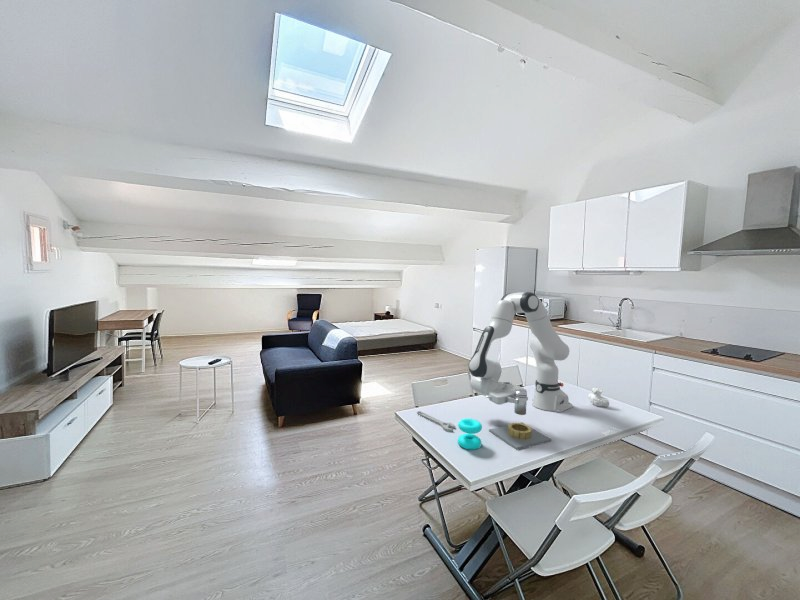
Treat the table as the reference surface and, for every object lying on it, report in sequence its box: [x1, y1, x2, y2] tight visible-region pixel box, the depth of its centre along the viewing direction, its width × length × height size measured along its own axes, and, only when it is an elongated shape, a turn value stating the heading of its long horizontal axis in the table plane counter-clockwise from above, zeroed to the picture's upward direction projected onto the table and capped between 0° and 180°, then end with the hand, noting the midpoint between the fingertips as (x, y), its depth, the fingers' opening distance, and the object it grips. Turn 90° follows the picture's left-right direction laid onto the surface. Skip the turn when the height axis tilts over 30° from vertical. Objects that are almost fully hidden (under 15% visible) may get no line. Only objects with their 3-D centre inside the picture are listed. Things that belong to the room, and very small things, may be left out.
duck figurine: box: [588, 387, 610, 408], centre depth 189 cm, size 12×8×11 cm
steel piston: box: [513, 389, 528, 416], centre depth 150 cm, size 5×5×10 cm
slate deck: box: [488, 422, 553, 451], centre depth 151 cm, size 20×18×1 cm
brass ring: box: [508, 422, 532, 439], centre depth 151 cm, size 10×10×3 cm
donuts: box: [457, 418, 483, 451], centre depth 143 cm, size 10×10×10 cm
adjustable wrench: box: [416, 411, 456, 433], centre depth 166 cm, size 25×6×2 cm, turn 35°
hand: (522, 400), depth 150 cm, fingers closed on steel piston, 5 cm apart
